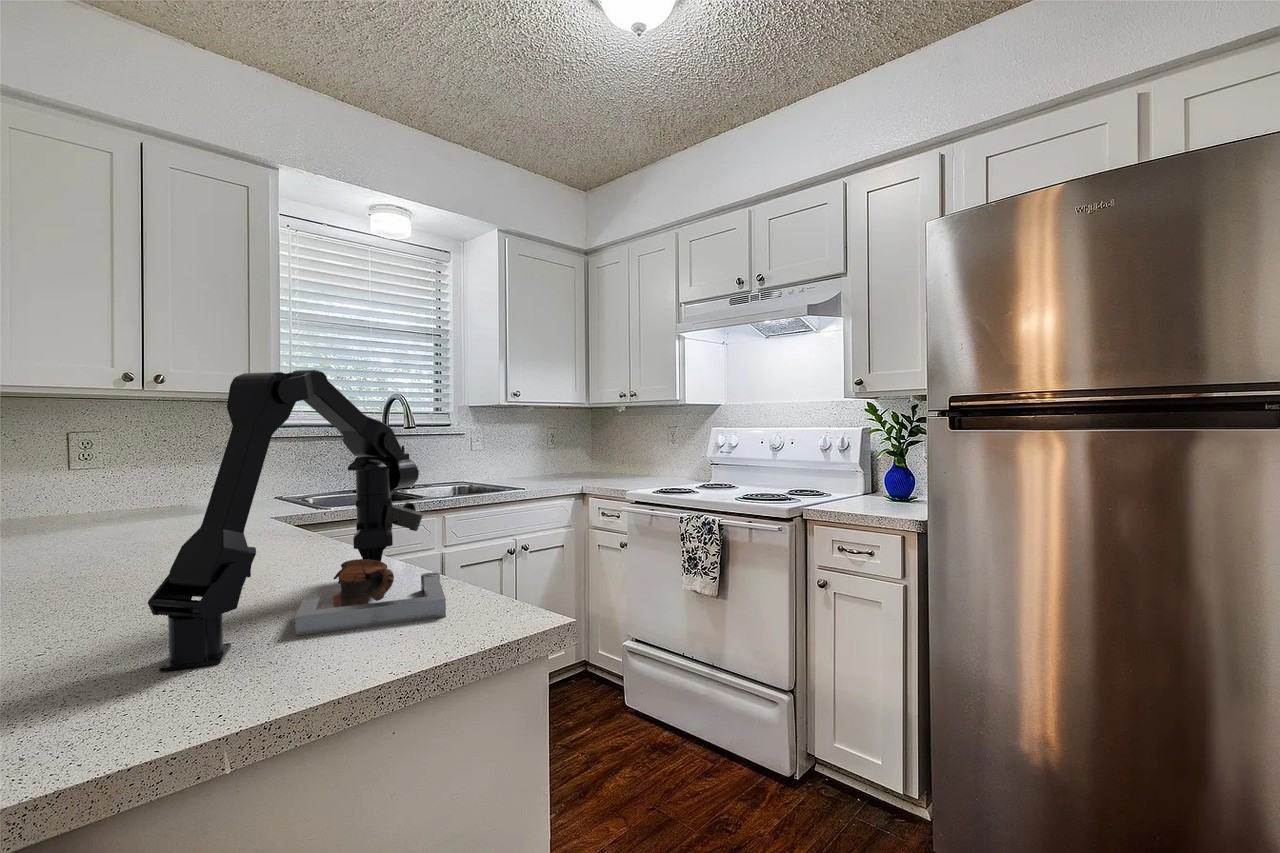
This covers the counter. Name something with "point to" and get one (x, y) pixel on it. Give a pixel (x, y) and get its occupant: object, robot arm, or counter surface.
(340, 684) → the counter surface
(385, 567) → the pottery mug
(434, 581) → the hook
